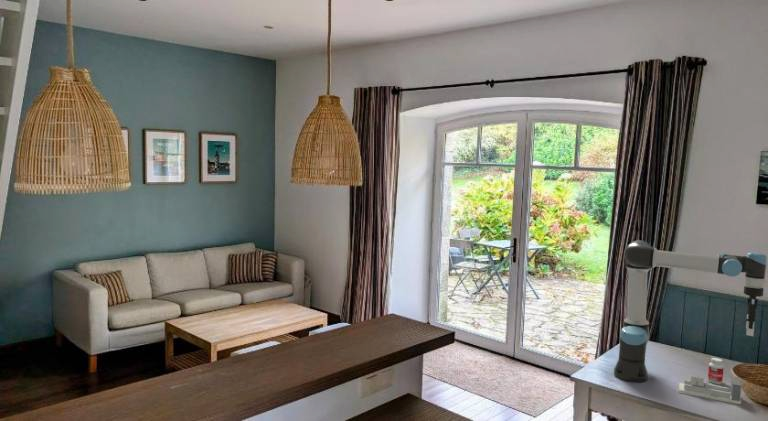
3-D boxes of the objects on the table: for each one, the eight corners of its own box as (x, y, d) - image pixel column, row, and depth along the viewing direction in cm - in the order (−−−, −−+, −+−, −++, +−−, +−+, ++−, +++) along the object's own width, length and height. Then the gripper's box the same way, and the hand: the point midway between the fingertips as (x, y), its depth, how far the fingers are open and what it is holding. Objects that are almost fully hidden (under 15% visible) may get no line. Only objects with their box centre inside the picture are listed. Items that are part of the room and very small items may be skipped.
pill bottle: (708, 382, 272) (710, 360, 271) (706, 378, 278) (708, 356, 277) (723, 385, 269) (725, 362, 269) (721, 380, 275) (723, 358, 274)
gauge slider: (690, 391, 256) (691, 378, 256) (690, 386, 263) (691, 373, 262) (707, 394, 253) (708, 381, 253) (707, 389, 260) (708, 376, 259)
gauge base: (678, 392, 259) (680, 374, 258) (679, 385, 267) (680, 368, 267) (740, 404, 247) (742, 386, 247) (739, 396, 256) (740, 378, 255)
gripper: (764, 292, 248) (760, 340, 250) (762, 283, 270) (758, 327, 271) (744, 289, 252) (739, 336, 254) (744, 281, 273) (739, 324, 275)
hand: (749, 332), depth 263 cm, fingers open, 13 cm apart
